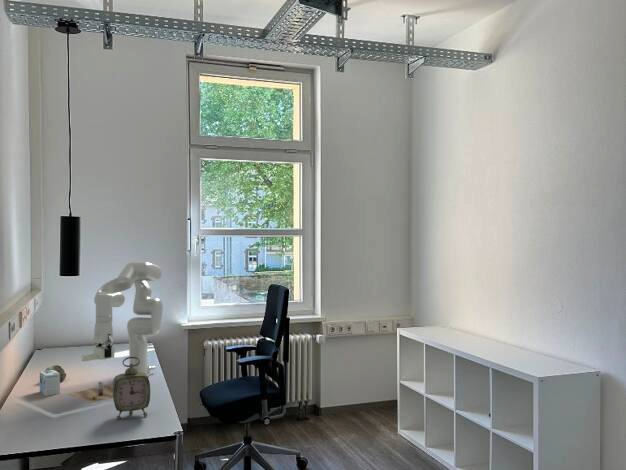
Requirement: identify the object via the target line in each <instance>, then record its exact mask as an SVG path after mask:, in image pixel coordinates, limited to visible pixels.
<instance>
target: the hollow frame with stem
mask: <svg viewBox="0 0 626 470" xmlns="http://www.w3.org/2000/svg"><path fill="white" fill-rule="evenodd" d="M105 349H106V348H105V345H102V346H100V347H96V346H94V347H93V349H92V350H93V351H92V352H93V353H90V354H84V355H81V362H89V361H95V360H99V361H100V360H101V361H102V360H107V359H109V360H110V359H114V358H115V347H114V346H112V349H111V357H108V358H105Z"/></svg>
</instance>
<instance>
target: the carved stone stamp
mask: <svg viewBox="0 0 626 470" xmlns="http://www.w3.org/2000/svg"><path fill="white" fill-rule="evenodd" d="M49 370H55V371H57V372H58V373H60V383H62V382H64V380H65V379H66V377H67V373H66V372H65V369H64V368H63V367H62V366H60V365H58V364H55V365H52V366H49V367H46V368H45V371H49Z"/></svg>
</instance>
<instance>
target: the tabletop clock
mask: <svg viewBox="0 0 626 470" xmlns="http://www.w3.org/2000/svg"><path fill="white" fill-rule="evenodd" d="M130 358H135V359H137V360H138V361H139V362H138V363H137V364H135V365H132V363H131V364H130V365H127V364H125V362H126V360H129V359H130ZM139 363H140V360H139V359H138V358H137V357H129V356H128V357H125V358H124V359H123V361H122V366H124V367H126V369H125V371H124V373H120V374H117V375H115V376H114V379H113V382H112V385H113V398H112V399H113V403H114V408H115V409H116V411H118V412H119V414H118V415H117V416H116V420H118V421H119V420H120V419H121V416H122V415H121V414H122V412H124V413H125V412H128V415H129V416H132V415H133V414H134V413H133V411H142V412H143V414H142V415H143V416H144V417H147V416H148V412H146V411H145V409H146V408H148V407H149V405H150V401H151V384H150V383H151V382H150V379H149V376H147V375H146V374H145V373H143V372H137V370H136V368H134V366H137V365H138V364H139ZM129 367H130V368H129Z"/></svg>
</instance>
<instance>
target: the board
mask: <svg viewBox="0 0 626 470" xmlns="http://www.w3.org/2000/svg"><path fill="white" fill-rule="evenodd" d="M93 393H96V399H93ZM68 395H69V396H72V397H74V398H77V399H81V400H83V401H86V402H88V403H95V402H100V401H105V400H108V399H113V384H109V385H108V384H107V385H103V395H102V396H99V386H98V387H94V388H89V389H85V390H80V391H76V392H71V393H68Z"/></svg>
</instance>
